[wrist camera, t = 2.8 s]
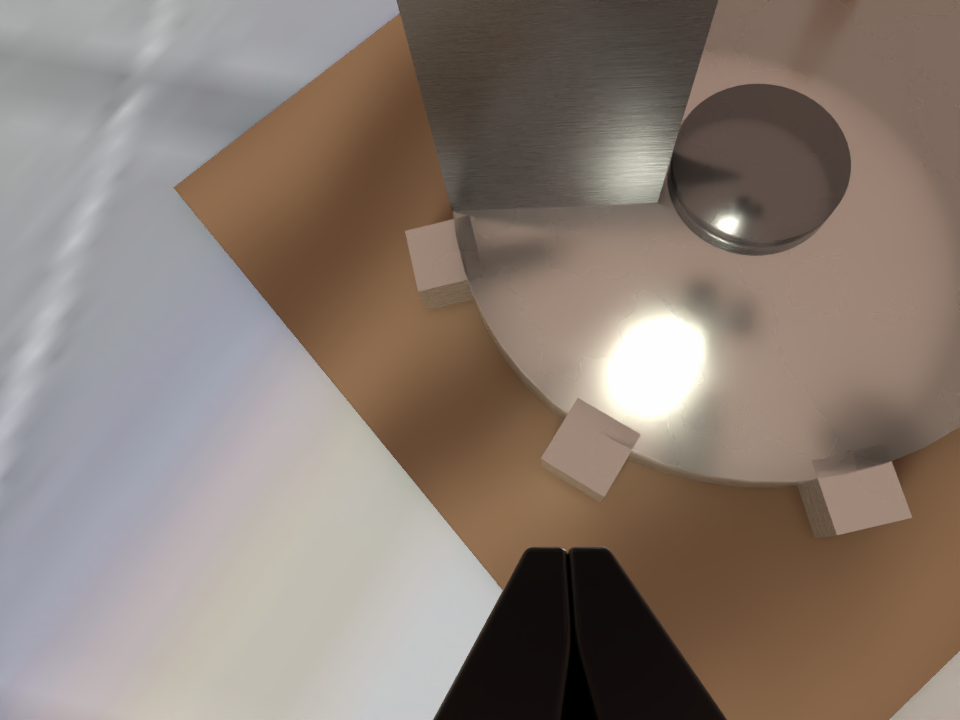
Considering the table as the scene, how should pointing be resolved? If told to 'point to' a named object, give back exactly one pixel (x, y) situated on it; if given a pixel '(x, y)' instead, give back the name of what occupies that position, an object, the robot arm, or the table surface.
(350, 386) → the base board
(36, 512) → the table surface
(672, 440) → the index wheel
